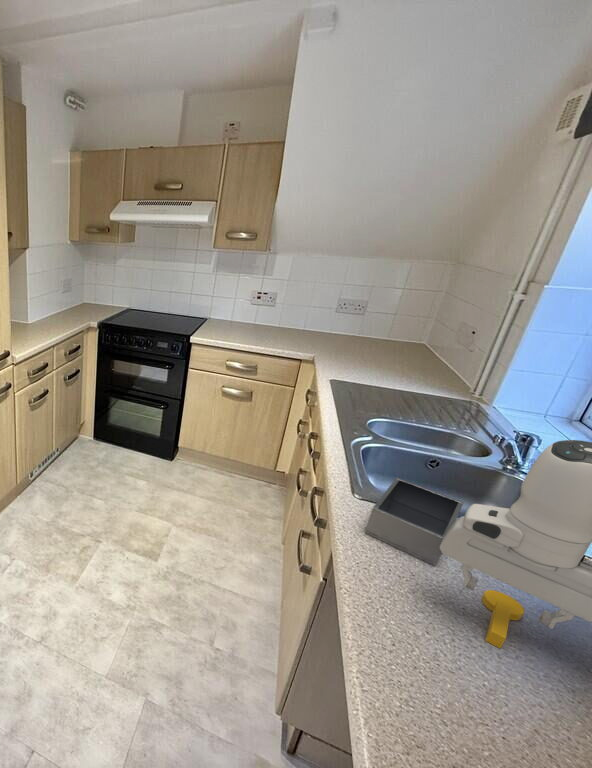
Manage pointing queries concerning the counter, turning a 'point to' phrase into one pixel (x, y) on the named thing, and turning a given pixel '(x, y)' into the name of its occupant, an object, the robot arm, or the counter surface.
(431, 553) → the grey open box
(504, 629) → the yellow letter t
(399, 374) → the counter surface
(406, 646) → the counter surface
